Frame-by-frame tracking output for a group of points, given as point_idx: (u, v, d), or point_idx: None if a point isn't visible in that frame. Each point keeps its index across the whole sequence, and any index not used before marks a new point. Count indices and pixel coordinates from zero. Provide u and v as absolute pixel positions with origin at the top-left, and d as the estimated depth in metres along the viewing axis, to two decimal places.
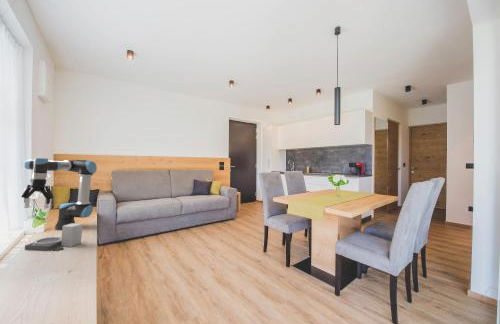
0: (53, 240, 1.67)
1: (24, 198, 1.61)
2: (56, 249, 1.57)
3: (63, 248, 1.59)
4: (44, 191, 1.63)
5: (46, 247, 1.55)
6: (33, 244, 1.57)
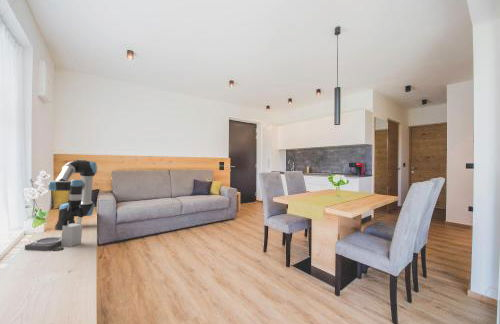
0: (53, 240, 1.67)
1: None
2: (56, 249, 1.57)
3: (63, 248, 1.60)
4: (70, 212, 1.66)
5: (46, 247, 1.55)
6: (33, 244, 1.57)
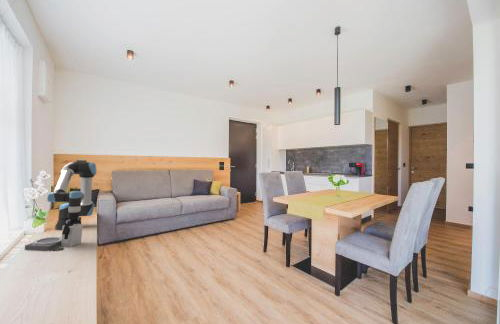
0: (53, 240, 1.67)
1: None
2: (56, 249, 1.57)
3: (63, 248, 1.60)
4: (69, 225, 1.66)
5: (46, 247, 1.55)
6: (33, 244, 1.57)
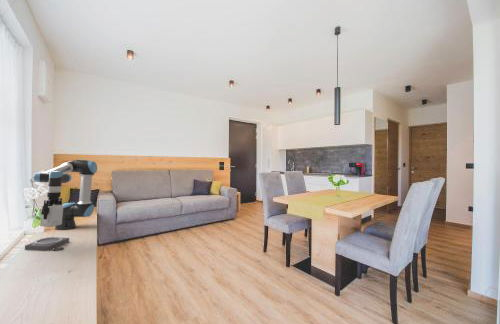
0: (53, 240, 1.67)
1: None
2: (56, 249, 1.57)
3: (63, 248, 1.60)
4: (49, 205, 1.62)
5: (46, 247, 1.55)
6: (33, 244, 1.57)
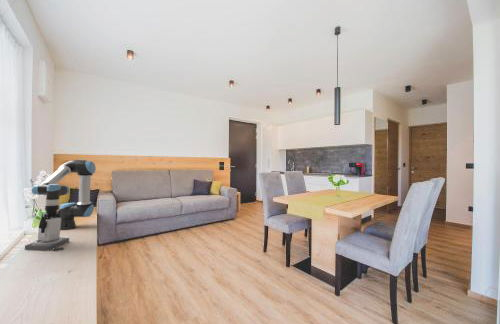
0: (53, 240, 1.67)
1: None
2: (56, 249, 1.57)
3: (63, 248, 1.60)
4: (46, 219, 1.61)
5: (46, 247, 1.55)
6: (33, 244, 1.57)
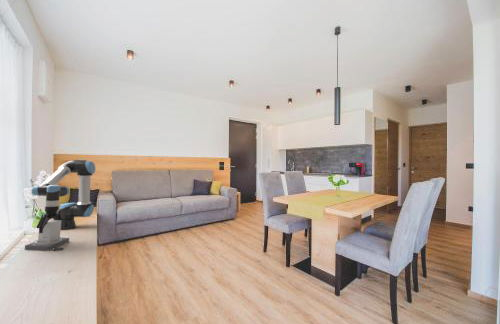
0: None
1: None
2: (56, 249, 1.57)
3: (63, 248, 1.60)
4: (46, 219, 1.61)
5: (46, 247, 1.55)
6: (33, 244, 1.57)
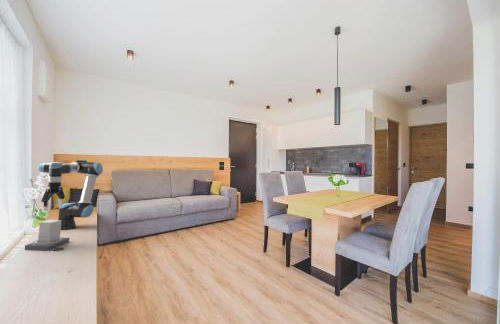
0: None
1: None
2: (57, 249, 1.57)
3: None
4: (49, 194, 1.70)
5: (46, 247, 1.55)
6: (33, 244, 1.57)
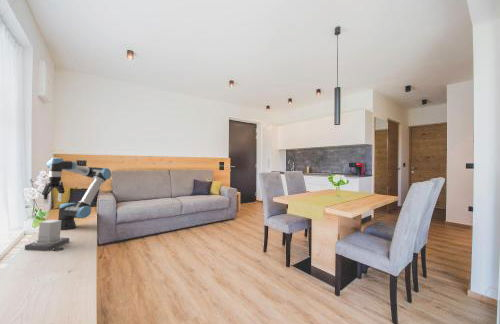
0: None
1: None
2: (57, 249, 1.57)
3: None
4: (50, 187, 1.79)
5: (46, 247, 1.55)
6: (33, 244, 1.57)
